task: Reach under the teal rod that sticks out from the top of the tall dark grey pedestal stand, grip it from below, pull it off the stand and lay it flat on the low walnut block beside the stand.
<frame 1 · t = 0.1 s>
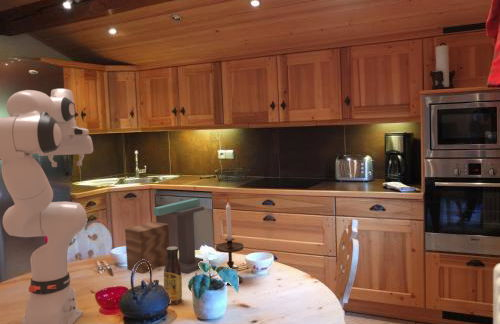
hand: (67, 166, 180), 48 cm above the table, tool pointing down, fingers open, 8 cm apart
candlestick: (231, 281, 182), on the table
teal rod: (178, 210, 197), point 26 cm above the table, touching dark grey pedestal stand
pepper mill: (54, 275, 197), on the table
dark grey pedestal stand: (185, 266, 202), on the table
sauce bottle: (173, 302, 164), on the table
walnut block: (149, 266, 204), on the table
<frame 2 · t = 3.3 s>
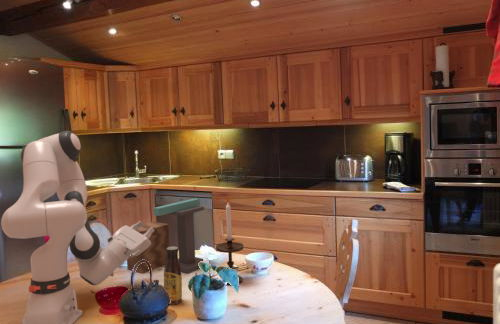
hand: (147, 225, 180), 24 cm above the table, tool pointing upward, fingers open, 8 cm apart
nothing on the table moved.
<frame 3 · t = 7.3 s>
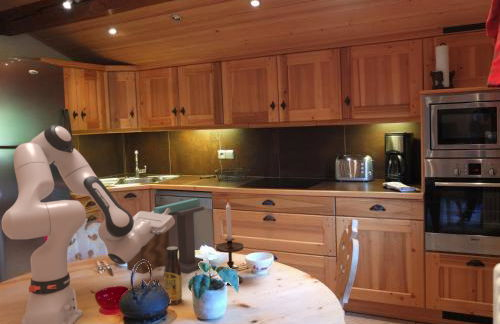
hand: (165, 208, 191), 28 cm above the table, tool pointing upward, fingers closed on teal rod, 3 cm apart
teal rod: (178, 210, 197), point 26 cm above the table, touching dark grey pedestal stand, gripper
everything else where it was.
when the fingers open (22 cm above the table, at t = 13.7 s): teal rod drops 1 cm, resting on walnut block.
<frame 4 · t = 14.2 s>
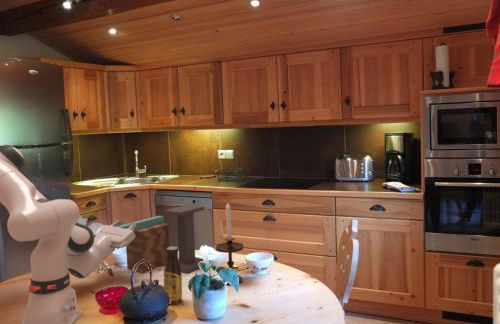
hand: (127, 222, 194), 22 cm above the table, tool pointing upward, fingers open, 8 cm apart
teal rod: (141, 228, 200), point 18 cm above the table, touching walnut block
everything else where it was.
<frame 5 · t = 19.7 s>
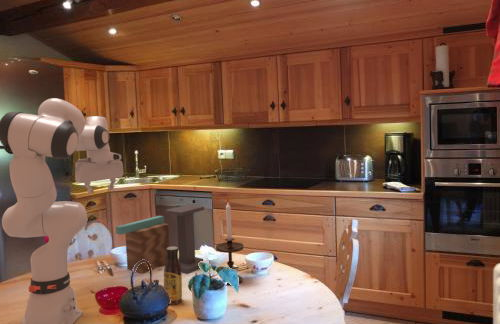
hand: (101, 191, 183), 37 cm above the table, tool pointing down, fingers open, 8 cm apart
nothing on the table moved.
at the end: teal rod inside the target area on the walnut block (0.4 cm from its centre), point 18.0 cm above the walnut block's base; teal rod tilted 0°; the gripper is holding nothing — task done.
